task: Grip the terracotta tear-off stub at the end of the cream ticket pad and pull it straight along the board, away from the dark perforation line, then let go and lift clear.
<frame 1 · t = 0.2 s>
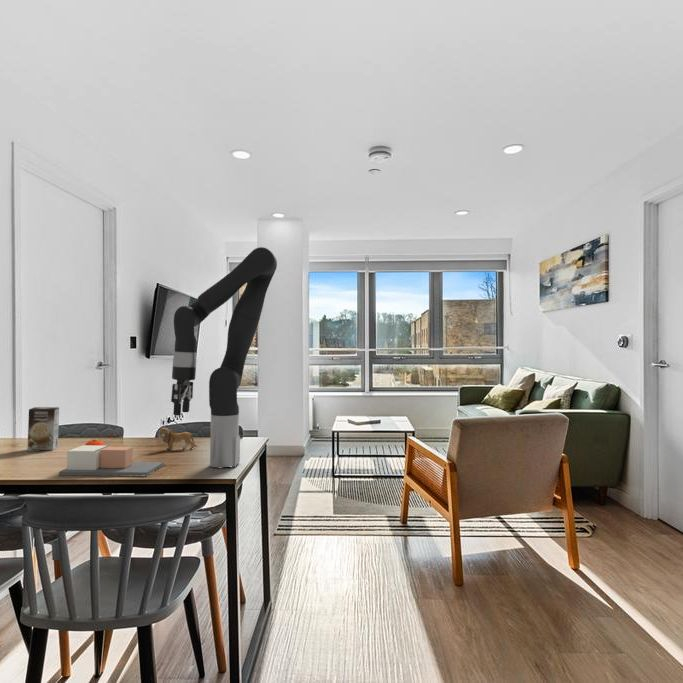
hand: (181, 413, 161), 17 cm above the table, tool pointing down, fingers open, 8 cm apart
stub: (116, 457, 153), point 4 cm above the table, slide at 0.0 cm
lion figurine: (176, 450, 186), on the table
clementine: (94, 459, 169), on the table
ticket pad: (113, 470, 153), on the table
coffee box: (42, 450, 185), on the table
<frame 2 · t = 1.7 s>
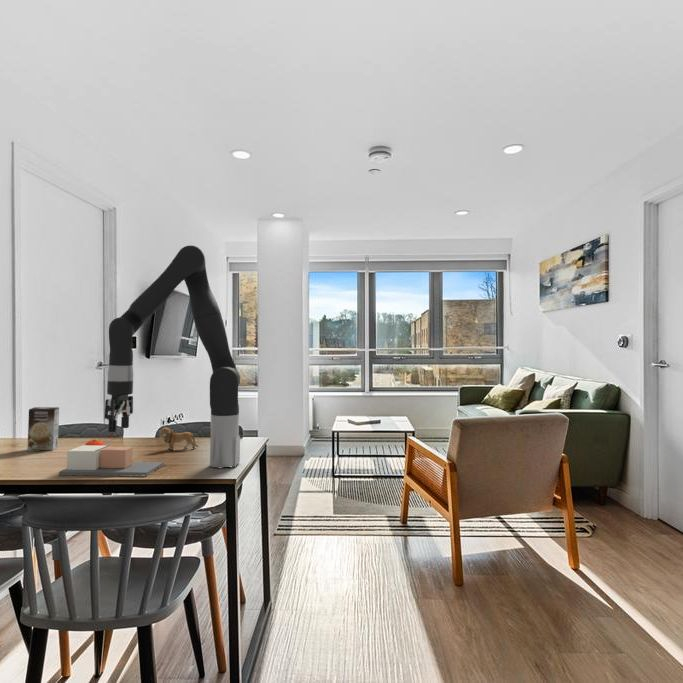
hand: (118, 430, 154), 13 cm above the table, tool pointing down, fingers open, 8 cm apart
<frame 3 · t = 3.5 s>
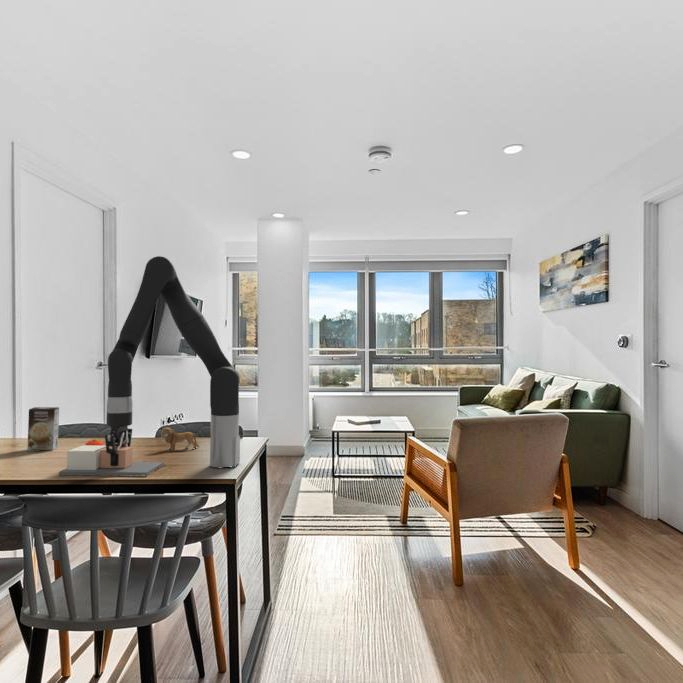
hand: (118, 463, 153), 2 cm above the table, tool pointing down, fingers closed on stub, 5 cm apart
stub: (116, 457, 153), point 4 cm above the table, slide at 0.0 cm, touching gripper
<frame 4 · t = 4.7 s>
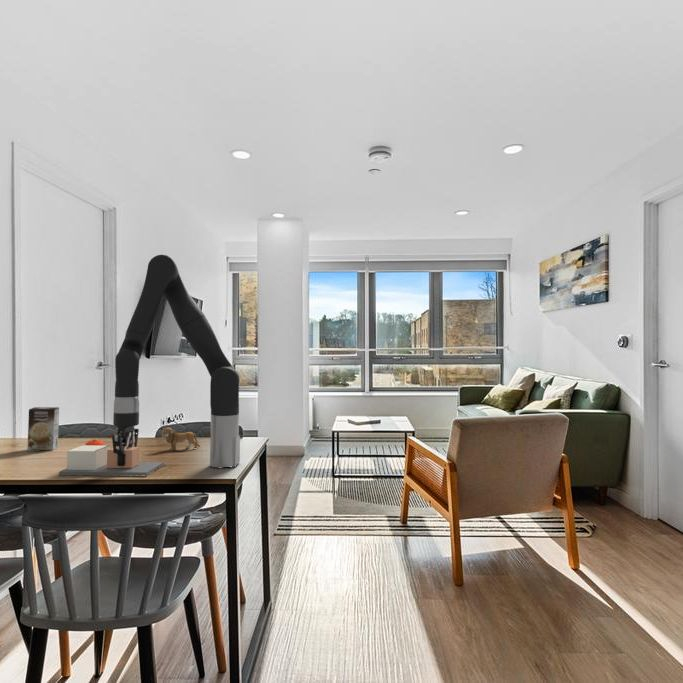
hand: (125, 463, 153), 2 cm above the table, tool pointing down, fingers closed on stub, 5 cm apart
stub: (123, 457, 153), point 4 cm above the table, slide at 2.2 cm, touching gripper
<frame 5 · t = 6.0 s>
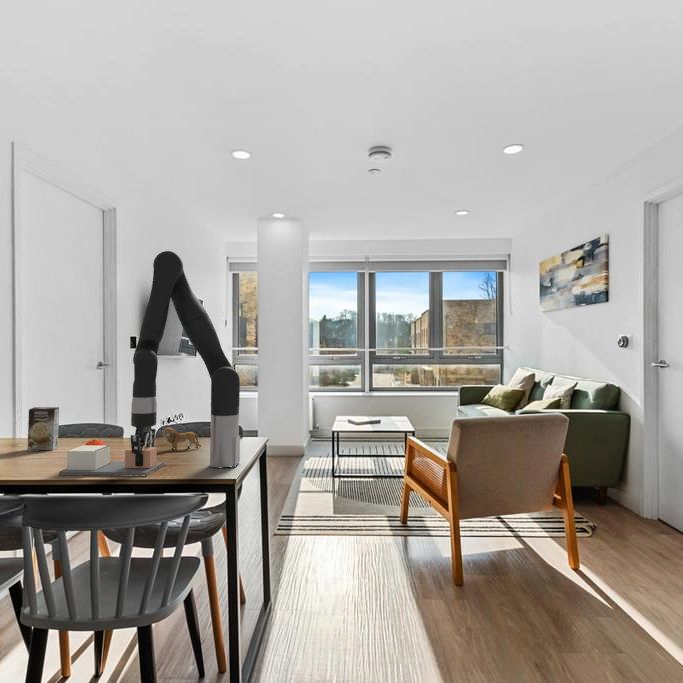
hand: (142, 463, 153), 2 cm above the table, tool pointing down, fingers closed on stub, 5 cm apart
stub: (140, 457, 153), point 4 cm above the table, slide at 7.9 cm, touching gripper
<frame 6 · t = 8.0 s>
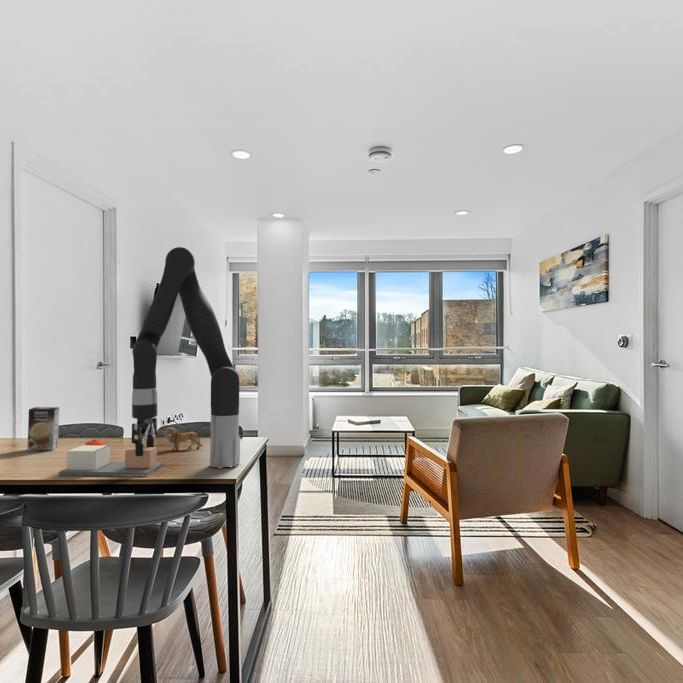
hand: (145, 453, 153), 6 cm above the table, tool pointing down, fingers open, 8 cm apart
stub: (141, 457, 153), point 4 cm above the table, slide at 7.9 cm
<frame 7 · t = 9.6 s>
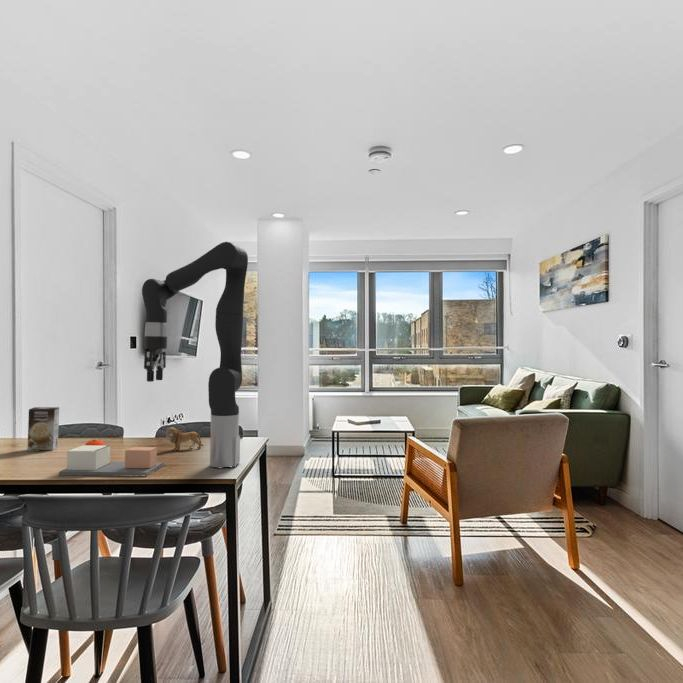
hand: (154, 380, 171), 28 cm above the table, tool pointing down, fingers open, 8 cm apart
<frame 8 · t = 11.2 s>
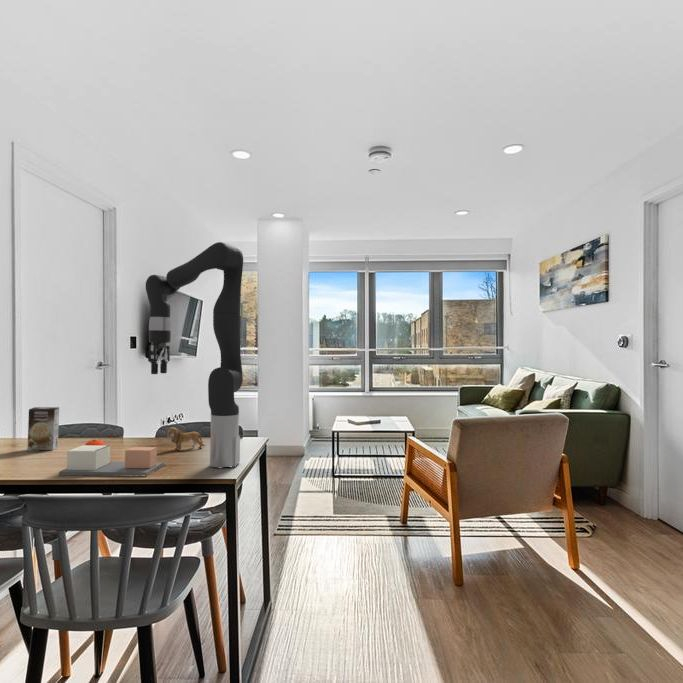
hand: (159, 373, 176), 30 cm above the table, tool pointing down, fingers open, 8 cm apart
at the end: stub slide at 7.9 cm; the gripper is holding nothing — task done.
